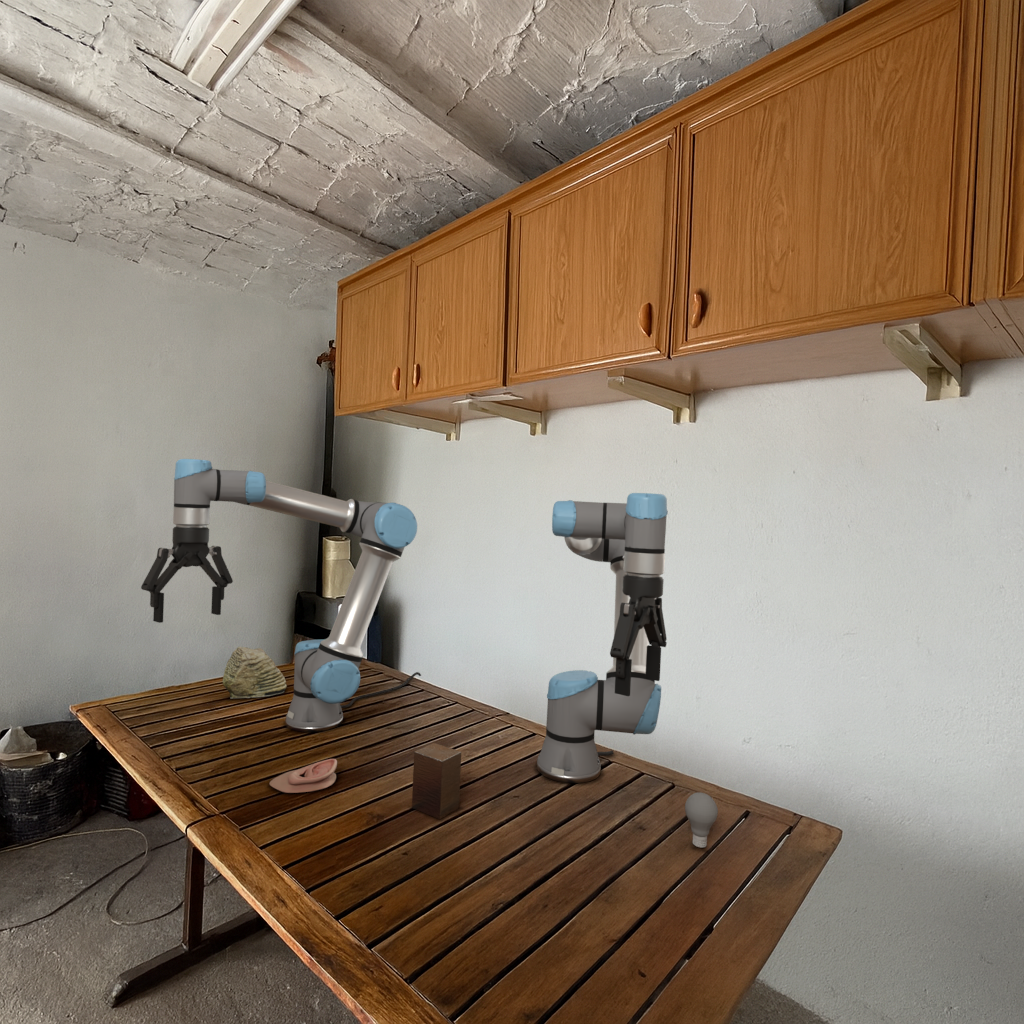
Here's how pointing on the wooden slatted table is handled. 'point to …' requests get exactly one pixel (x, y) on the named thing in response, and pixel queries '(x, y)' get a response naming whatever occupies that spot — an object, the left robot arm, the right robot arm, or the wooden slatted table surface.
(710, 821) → the light bulb
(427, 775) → the block
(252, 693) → the fossil
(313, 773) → the anatomical model
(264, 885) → the wooden slatted table surface
